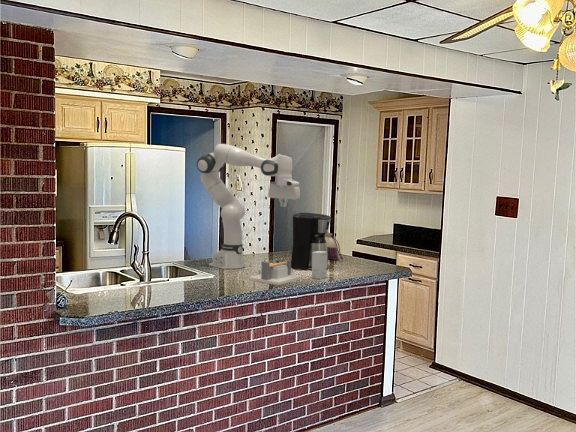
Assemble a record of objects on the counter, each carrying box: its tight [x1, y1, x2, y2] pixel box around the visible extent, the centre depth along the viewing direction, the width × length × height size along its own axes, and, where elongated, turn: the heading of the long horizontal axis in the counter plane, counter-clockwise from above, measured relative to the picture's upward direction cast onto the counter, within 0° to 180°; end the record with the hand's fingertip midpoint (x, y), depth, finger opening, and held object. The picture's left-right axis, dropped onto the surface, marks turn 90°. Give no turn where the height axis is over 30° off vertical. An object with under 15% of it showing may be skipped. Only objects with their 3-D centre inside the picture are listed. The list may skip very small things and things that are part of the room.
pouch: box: [324, 231, 344, 261], centre depth 370 cm, size 25×8×19 cm, turn 57°
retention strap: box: [269, 261, 287, 267], centre depth 299 cm, size 18×3×1 cm, turn 144°
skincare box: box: [311, 251, 328, 280], centre depth 307 cm, size 8×6×15 cm
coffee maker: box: [275, 212, 332, 271], centre depth 335 cm, size 23×32×34 cm
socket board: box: [248, 258, 303, 286], centre depth 299 cm, size 20×22×11 cm
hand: (283, 206), depth 311 cm, fingers closed
